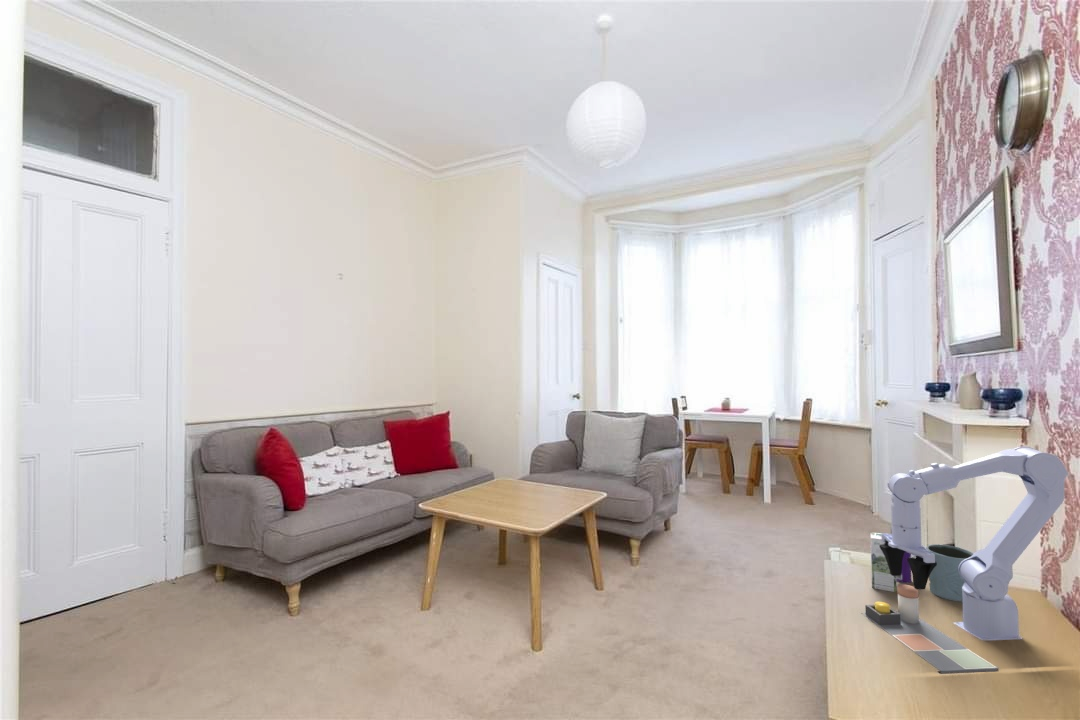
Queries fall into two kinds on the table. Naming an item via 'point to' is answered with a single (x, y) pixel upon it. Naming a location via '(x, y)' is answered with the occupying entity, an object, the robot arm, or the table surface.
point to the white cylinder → (908, 603)
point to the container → (904, 569)
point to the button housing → (883, 616)
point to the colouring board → (937, 648)
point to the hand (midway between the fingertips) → (907, 581)
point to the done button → (882, 607)
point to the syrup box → (880, 566)
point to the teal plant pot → (947, 571)
